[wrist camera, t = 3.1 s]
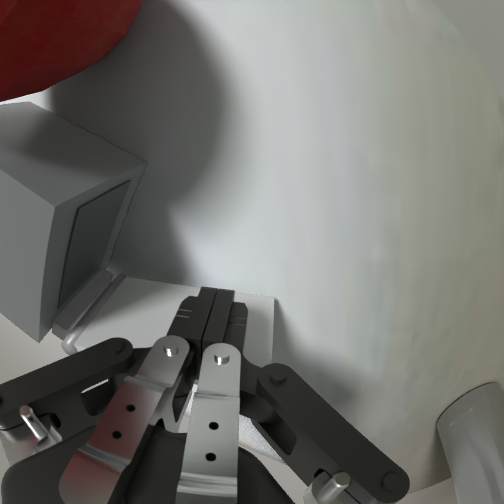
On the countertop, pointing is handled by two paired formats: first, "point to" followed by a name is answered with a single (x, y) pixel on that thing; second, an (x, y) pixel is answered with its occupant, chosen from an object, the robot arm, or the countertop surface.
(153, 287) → the side door
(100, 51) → the apple
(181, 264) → the countertop surface
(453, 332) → the countertop surface
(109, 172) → the grey box with button
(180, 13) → the countertop surface
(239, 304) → the robot arm
